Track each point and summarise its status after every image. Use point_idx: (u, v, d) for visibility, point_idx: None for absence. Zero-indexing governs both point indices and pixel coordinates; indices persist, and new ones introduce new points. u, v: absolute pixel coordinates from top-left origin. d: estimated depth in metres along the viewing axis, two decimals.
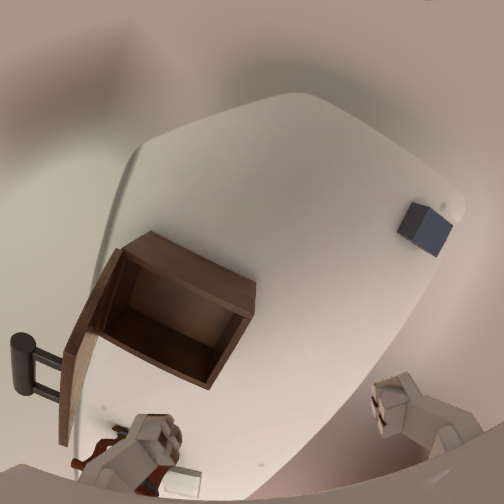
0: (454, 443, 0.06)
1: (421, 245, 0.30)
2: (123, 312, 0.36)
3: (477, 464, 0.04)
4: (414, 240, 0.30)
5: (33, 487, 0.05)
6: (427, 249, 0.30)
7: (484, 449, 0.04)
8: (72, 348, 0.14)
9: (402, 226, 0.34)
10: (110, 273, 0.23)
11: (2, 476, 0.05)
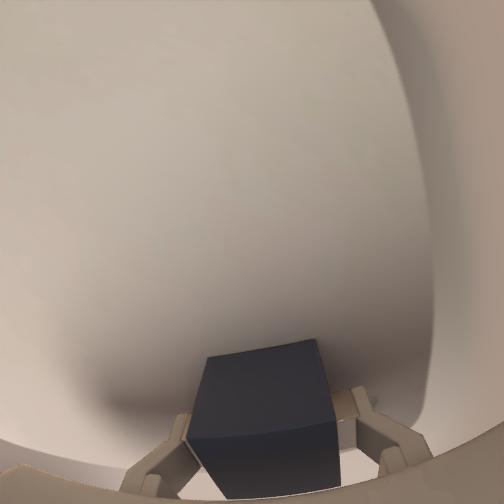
0: (398, 466, 0.06)
1: (205, 463, 0.08)
2: None
3: (477, 464, 0.04)
4: (193, 443, 0.07)
5: (33, 487, 0.05)
6: (216, 479, 0.08)
7: (484, 449, 0.04)
8: None
9: (227, 363, 0.11)
10: None
11: (2, 476, 0.05)
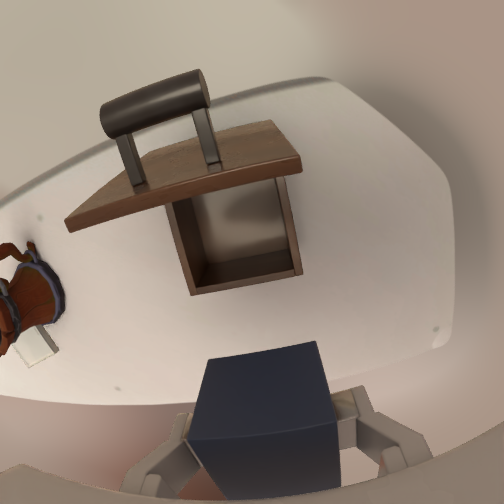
0: (397, 466, 0.06)
1: (206, 465, 0.08)
2: None
3: (477, 464, 0.04)
4: (194, 445, 0.07)
5: (33, 487, 0.05)
6: (217, 480, 0.08)
7: (484, 449, 0.04)
8: None
9: (228, 365, 0.11)
10: None
11: (2, 476, 0.05)
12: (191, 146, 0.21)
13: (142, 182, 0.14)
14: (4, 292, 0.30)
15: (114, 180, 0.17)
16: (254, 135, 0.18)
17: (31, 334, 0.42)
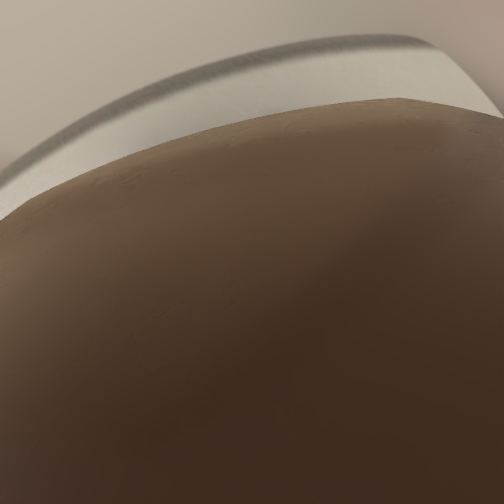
0: None
1: None
2: None
3: None
4: None
5: None
6: None
7: None
8: None
9: None
10: None
11: None
12: (43, 243, 0.02)
13: None
14: None
15: None
16: None
17: None
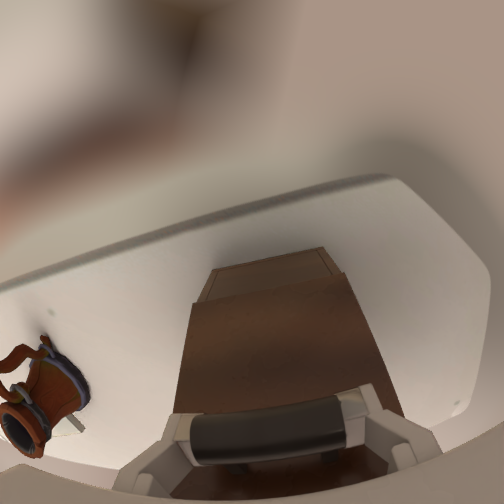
0: (408, 462, 0.06)
1: None
2: None
3: (477, 464, 0.04)
4: None
5: (33, 487, 0.05)
6: None
7: (484, 449, 0.04)
8: None
9: None
10: None
11: (2, 476, 0.05)
12: (263, 345, 0.17)
13: (246, 473, 0.10)
14: (28, 401, 0.26)
15: None
16: (350, 359, 0.15)
17: None
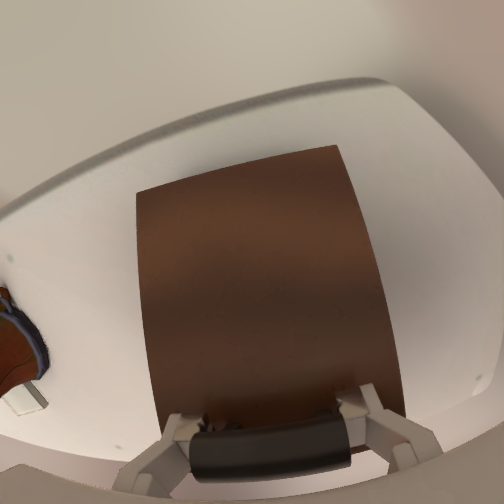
0: (409, 462, 0.06)
1: None
2: None
3: (477, 464, 0.04)
4: None
5: (33, 487, 0.05)
6: None
7: (484, 449, 0.04)
8: None
9: None
10: None
11: (2, 476, 0.05)
12: (238, 265, 0.14)
13: None
14: None
15: (159, 368, 0.13)
16: (348, 293, 0.13)
17: (16, 386, 0.32)
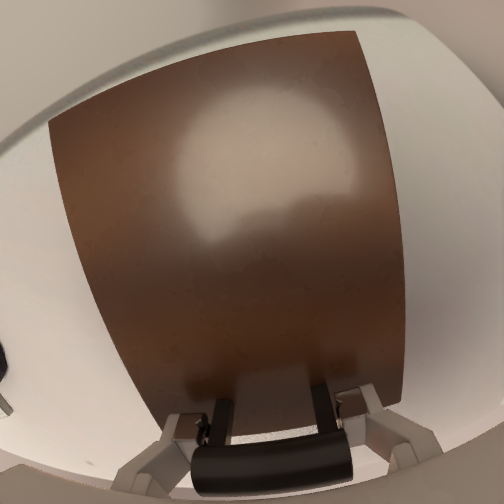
0: (409, 462, 0.06)
1: None
2: None
3: (477, 464, 0.04)
4: None
5: (33, 487, 0.05)
6: None
7: (484, 449, 0.04)
8: None
9: None
10: None
11: (2, 476, 0.05)
12: (206, 221, 0.09)
13: (233, 409, 0.12)
14: None
15: (129, 351, 0.11)
16: (359, 260, 0.10)
17: None
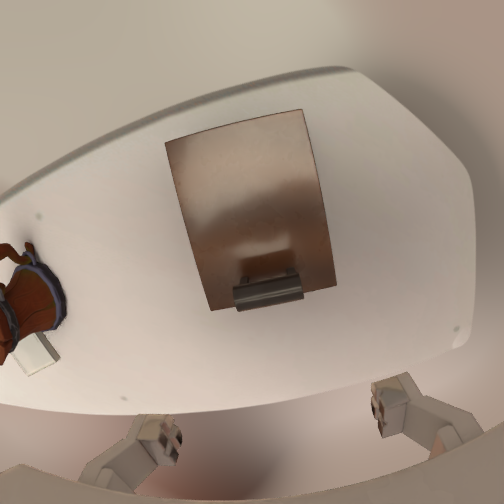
0: (454, 443, 0.06)
1: None
2: None
3: (477, 464, 0.04)
4: None
5: (33, 487, 0.05)
6: None
7: (484, 449, 0.04)
8: None
9: None
10: None
11: (2, 476, 0.05)
12: (240, 189, 0.24)
13: (249, 283, 0.26)
14: (0, 297, 0.27)
15: (200, 251, 0.25)
16: (303, 205, 0.24)
17: (30, 341, 0.39)
